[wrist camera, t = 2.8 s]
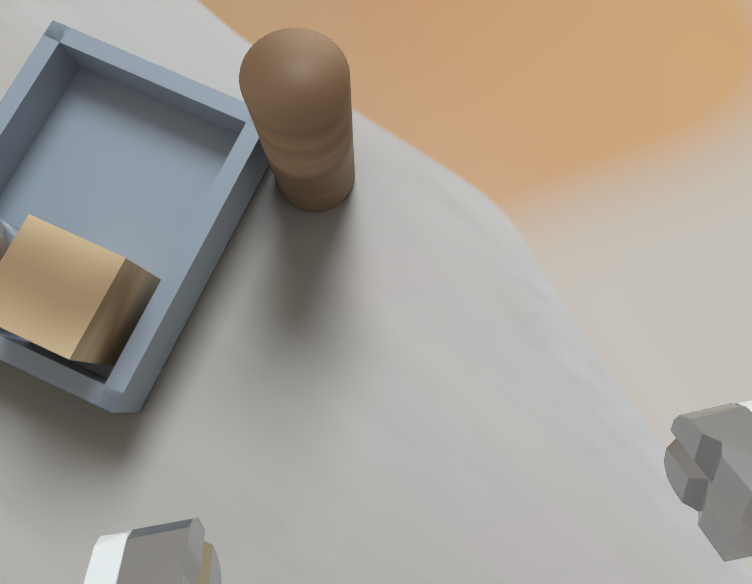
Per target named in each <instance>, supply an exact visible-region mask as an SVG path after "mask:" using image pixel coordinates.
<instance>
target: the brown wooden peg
mask: <svg viewBox="0 0 752 584" xmlns="http://www.w3.org/2000/svg"><path fill="white" fill-rule="evenodd" d="M239 84H240V89H241V93H242V96H243V98H244V101H245V103H246V106H247V108H248V111H249V113H250V116H251V118H252V121H253V123H254V126H255V128H256V131H257V133H258V136H259V139H260V141H261V144H262V146H263V149H264V151H265V154H266V156H267V159H268V161H269V164H270V166H271V169H272V171H273V174H274V176H275V179H276V181H277V184H278V186H279V189H280V191H281V193H282V194H283V196H284V197H285V198H286V200H287V201H288V202H290V203H291V204H292V205H294V206H295V207H297V208H299V209H302V210H305V211H310V212H321V211H326V210H329V209H332V208H334V207H336V206H337V205H339V204H340V203H341V202H343V201H344V200H345V199H346V197H347V196H348V195H349V193H350V191H351V189H352V187H353V184H354V178H355V172H354V151H353V130H352V109H351V88H350V71H349V66H348V63H347V60H346V58H345V55H344V54H343V52H342V51H341V49H340V48H339V47H338V46H337V44H335V43H334V42H333V41H332V40H331V39H330V38H328V37H327V36H325V35H323V34H321V33H319V32H316V31H313V30H310V29H305V28H286V29H281V30H277V31H274V32H272V33H270V34H268V35H266V36H264V37H263V38H261V39H260V40H258V41H257V42H256V43H255V44H254V45H253V46H252V47H251V48H250V49H249V51H248V52H247V54H246V55H245V57H244V59H243V61H242V64H241V68H240V73H239Z"/></svg>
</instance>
